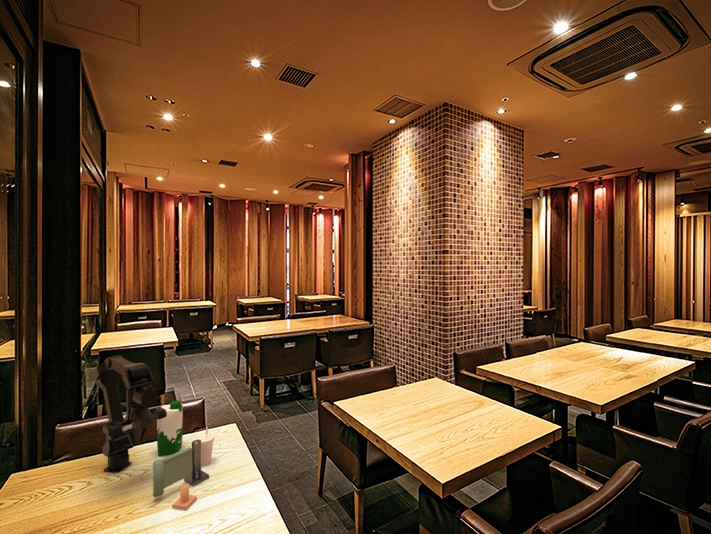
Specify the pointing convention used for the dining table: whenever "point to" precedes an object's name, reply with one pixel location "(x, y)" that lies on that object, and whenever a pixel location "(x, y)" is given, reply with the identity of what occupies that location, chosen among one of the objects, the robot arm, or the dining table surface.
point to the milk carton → (170, 429)
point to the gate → (171, 470)
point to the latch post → (184, 498)
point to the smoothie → (206, 447)
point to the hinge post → (196, 466)
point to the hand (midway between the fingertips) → (136, 444)
